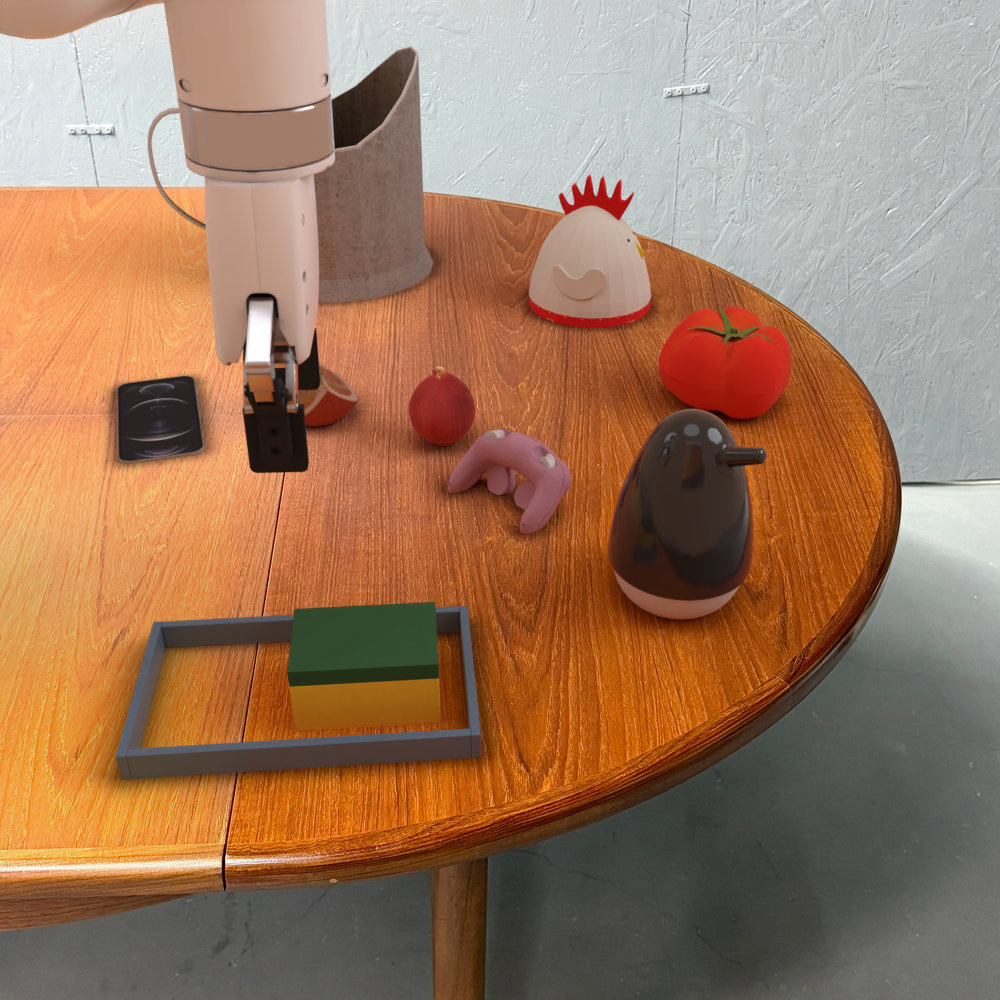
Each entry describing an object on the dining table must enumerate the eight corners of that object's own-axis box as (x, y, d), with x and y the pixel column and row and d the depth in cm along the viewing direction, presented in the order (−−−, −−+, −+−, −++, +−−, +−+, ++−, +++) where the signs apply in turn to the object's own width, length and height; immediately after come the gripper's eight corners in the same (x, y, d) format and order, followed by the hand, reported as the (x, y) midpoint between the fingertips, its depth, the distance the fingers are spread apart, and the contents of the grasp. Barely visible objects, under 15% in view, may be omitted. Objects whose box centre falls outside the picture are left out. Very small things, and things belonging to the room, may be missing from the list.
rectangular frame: (123, 786, 63) (115, 757, 62) (159, 649, 74) (153, 621, 72) (481, 764, 65) (480, 734, 64) (468, 633, 75) (467, 605, 74)
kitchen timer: (634, 339, 116) (645, 202, 108) (513, 322, 119) (514, 188, 111) (660, 292, 127) (671, 164, 119) (548, 278, 130) (551, 153, 122)
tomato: (637, 380, 108) (644, 300, 103) (754, 369, 110) (765, 290, 105) (681, 442, 98) (690, 357, 93) (808, 429, 100) (824, 345, 95)
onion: (433, 424, 100) (431, 346, 96) (487, 440, 98) (487, 360, 93) (398, 452, 96) (394, 371, 91) (453, 469, 93) (451, 387, 89)
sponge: (295, 732, 67) (287, 672, 64) (301, 666, 72) (294, 608, 69) (440, 724, 67) (438, 663, 64) (437, 659, 72) (435, 601, 69)
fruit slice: (278, 405, 103) (272, 357, 100) (346, 393, 105) (342, 346, 102) (298, 446, 97) (292, 397, 94) (370, 432, 99) (366, 384, 96)
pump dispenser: (698, 663, 73) (726, 472, 64) (576, 599, 78) (586, 417, 70) (772, 592, 79) (806, 411, 71) (654, 538, 85) (672, 364, 77)
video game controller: (558, 540, 87) (588, 460, 86) (524, 540, 84) (554, 457, 82) (474, 493, 93) (500, 417, 91) (438, 491, 89) (465, 412, 88)
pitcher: (452, 295, 126) (448, 70, 112) (173, 324, 118) (131, 87, 105) (413, 230, 144) (405, 30, 130) (169, 252, 137) (133, 42, 123)
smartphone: (117, 463, 92) (115, 384, 104) (119, 471, 93) (117, 392, 105) (205, 450, 94) (194, 374, 106) (207, 459, 95) (196, 382, 107)
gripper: (209, 91, 61) (242, 362, 71) (149, 184, 47) (200, 509, 56) (341, 92, 62) (356, 361, 71) (322, 184, 47) (345, 506, 57)
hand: (288, 426), depth 64 cm, fingers open, 9 cm apart
